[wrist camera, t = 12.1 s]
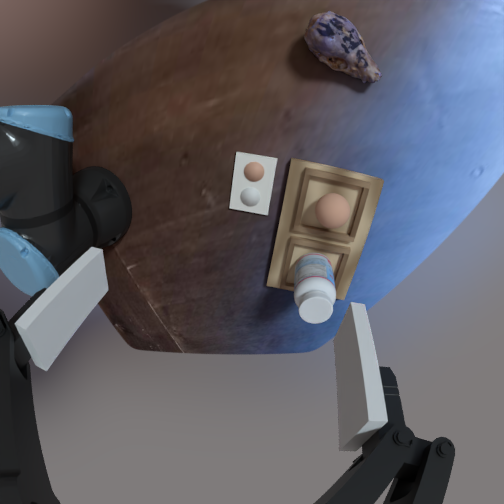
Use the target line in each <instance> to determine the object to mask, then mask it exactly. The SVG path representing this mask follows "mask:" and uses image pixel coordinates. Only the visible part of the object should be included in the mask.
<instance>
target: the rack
mask: <svg viewBox="0 0 504 504" xmlns="http://www.w3.org/2000/svg"><path fill="white" fill-rule="evenodd" d="M383 183H384V180H383V179H381V178H377V177H373V176H369V175H366V174H362V173H358V172H354V171H350V170H346V169H341V168H337V167H333V166H329V165H324V164H320V163H315V162H310V161H305V160H300V159H295V158H291V163H290V169H289V174H288V179H287V185H286V190H285V195H284V200H283V206H282V211H281V216H280V221H279V226H278V231H277V236H276V241H275V246H274V251H273V256H272V261H271V266H270V271H269V276H268V280H267V286H270V287H275V288H280V289H285V290H291V291H294V279H295V265H296V263H297V261H298V259H299V258H300V257H301V256H303V255H305V254H308V253H320V254H323V255H325V256H326V257H327V258H328V259H329V260H330V262H331V264H332V270H333V276H334V282H335V289H336V299H341V300H344V298H345V296H346V293H347V291H348V288H349V286H350V283H351V280H352V278H353V275H354V272H355V270H356V267H357V264H358V261H359V259H360V256H361V253H362V250H363V247H364V244H365V241H366V238H367V235H368V232H369V229H370V226H371V223H372V220H373V217H374V214H375V210H376V207H377V204H378V200H379V197H380V194H381V190H382V187H383ZM328 193H337V194H339V195H341V196H343V197H344V198H345V199H346V200H347V202H348V203H349V206H350V216H349V219H348V221H347V222H346V223H345V224H344V225H343V226H341V227H339V228H334V229H331V228H327V227H325V226H323V225H322V224H321V223H320V222H319V221H318V219H317V217H316V214H315V207H316V204H317V202H318V200H319V199H320V198H321V197H322V196H323V195H325V194H328Z"/></svg>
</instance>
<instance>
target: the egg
mask: <svg viewBox="0 0 504 504" xmlns="http://www.w3.org/2000/svg"><path fill="white" fill-rule="evenodd" d="M315 214H316V217H317V219H318V221H319V222H320V223H321V224H322V225H323V226H325V227H327V228H331V229H334V228H339V227H341V226H343V225H344V224H345V223H346V222H347V221H348V219H349V216H350V206H349V203H348V202H347V200H346V199H345V198H344V197H343V196H341V195H339V194H337V193H328V194H325V195H323V196H322V197H321V198H320V199H319V200H318V202H317V204H316V207H315Z"/></svg>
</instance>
